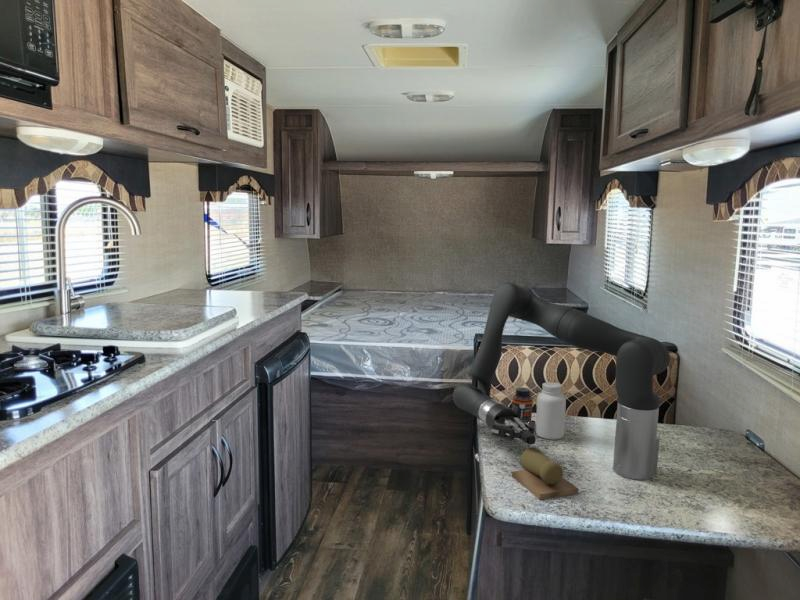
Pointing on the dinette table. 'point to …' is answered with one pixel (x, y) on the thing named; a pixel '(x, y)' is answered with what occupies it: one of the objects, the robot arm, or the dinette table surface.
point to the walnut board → (543, 485)
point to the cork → (541, 466)
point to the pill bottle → (550, 411)
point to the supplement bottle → (522, 404)
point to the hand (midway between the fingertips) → (532, 440)
